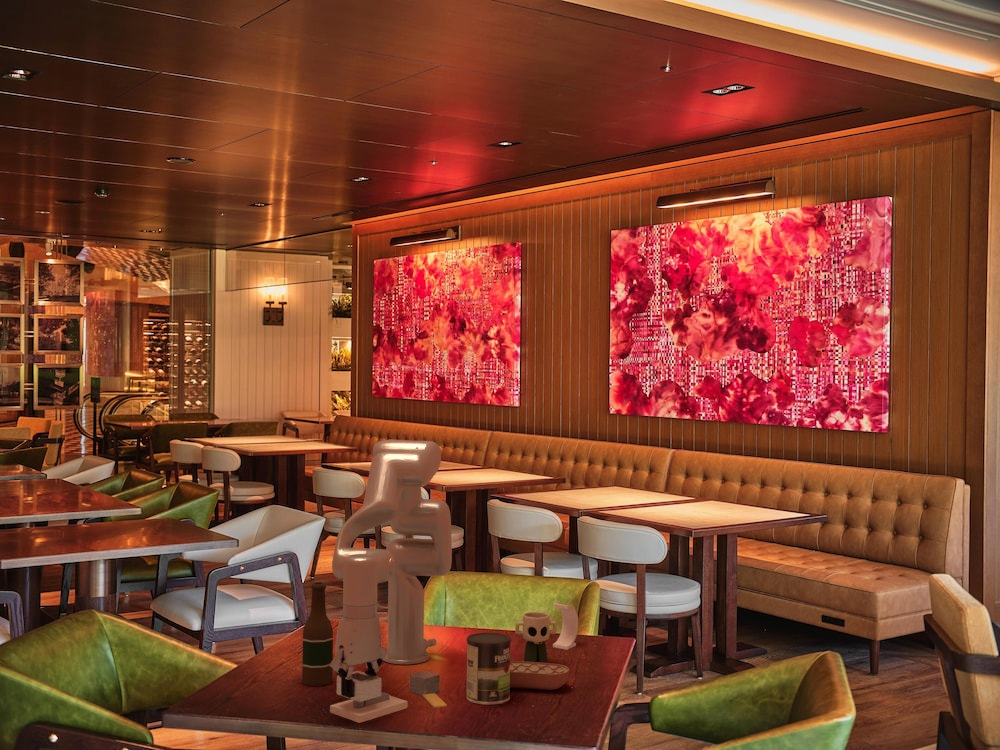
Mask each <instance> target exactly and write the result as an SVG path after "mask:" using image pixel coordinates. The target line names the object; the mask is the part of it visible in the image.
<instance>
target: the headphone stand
mask: <svg viewBox="0 0 1000 750" xmlns="http://www.w3.org/2000/svg"><path fill="white" fill-rule="evenodd" d="M553 607H554V608H558V610H560V613H561V617H562V623H561V624H562V625H561V630H560V631H561V632H560V634H559V637H558V638H557V640H556V641H555V642H554V643H552V648H556V649H561V650H567V651H568V650H569V649H572V648H575V647H576V646H577V642H575V641H576V638H577V636H578V628H579V617H578V616H579V615H578V612H577V610H576V609H575V607H574V606H573V605H569V604H568V605H567V604H561V603H556V602H555V603H553Z"/></svg>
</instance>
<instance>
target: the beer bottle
mask: <svg viewBox="0 0 1000 750" xmlns="http://www.w3.org/2000/svg"><path fill="white" fill-rule="evenodd" d="M310 588H311V590H312V591H311V603H310V612H309V617H307V619H306V621H305V624H303V629H302V659H301V660H302V662H301V663H302V666H301V668H302V669H301V671H302V672H301V673H302V674H301V676H302V680H301V681H302V684H303V685H305V686H309V687H325V686H327V685H330V684H332V682H333V675H334V674H333V673H334V670H333V669H332V668H331V667H330V663H331V662H332V660H333V659H334V657H333V656H334V632H333V626H332V623H331V619H330V618H329V617H328V615H327V608H326V592H325V591H326V588H327V585H326V583H325V582H322V581H315V582H312V583H311V587H310Z"/></svg>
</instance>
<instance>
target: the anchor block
mask: <svg viewBox="0 0 1000 750" xmlns="http://www.w3.org/2000/svg"><path fill="white" fill-rule="evenodd" d="M440 676H441V675H440V674H439V673H435V672H432V671H429V670H421V671H419V672H415V673H411V674H409V692H410V693H413V694H416V695H419V696H422V697H423V694H433V693H435V694H436V693H439V692H440V688H441V687H440V685H441V683H440V680H441V679H440V678H441V677H440Z"/></svg>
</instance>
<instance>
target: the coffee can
mask: <svg viewBox="0 0 1000 750" xmlns="http://www.w3.org/2000/svg"><path fill="white" fill-rule="evenodd" d="M511 642H512V638H511V637H510V636H509V635H507V634H505V633H501V632H499V633H498V632H476V633H472V634H469V635H467V636H466V644H467V645H466V647H467V648H466V696H465V697H466V699H465V700H467V701H468V702H470V703H472V704H477V705H478V704H479V705H483V706H486V705H487V706H492V705H494V706H496V705H499V704H500V705H501V704H505V703H507V702H509V701H510V699H511V693H510V691H511V690H510V689H511V688H510V661H511Z"/></svg>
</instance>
